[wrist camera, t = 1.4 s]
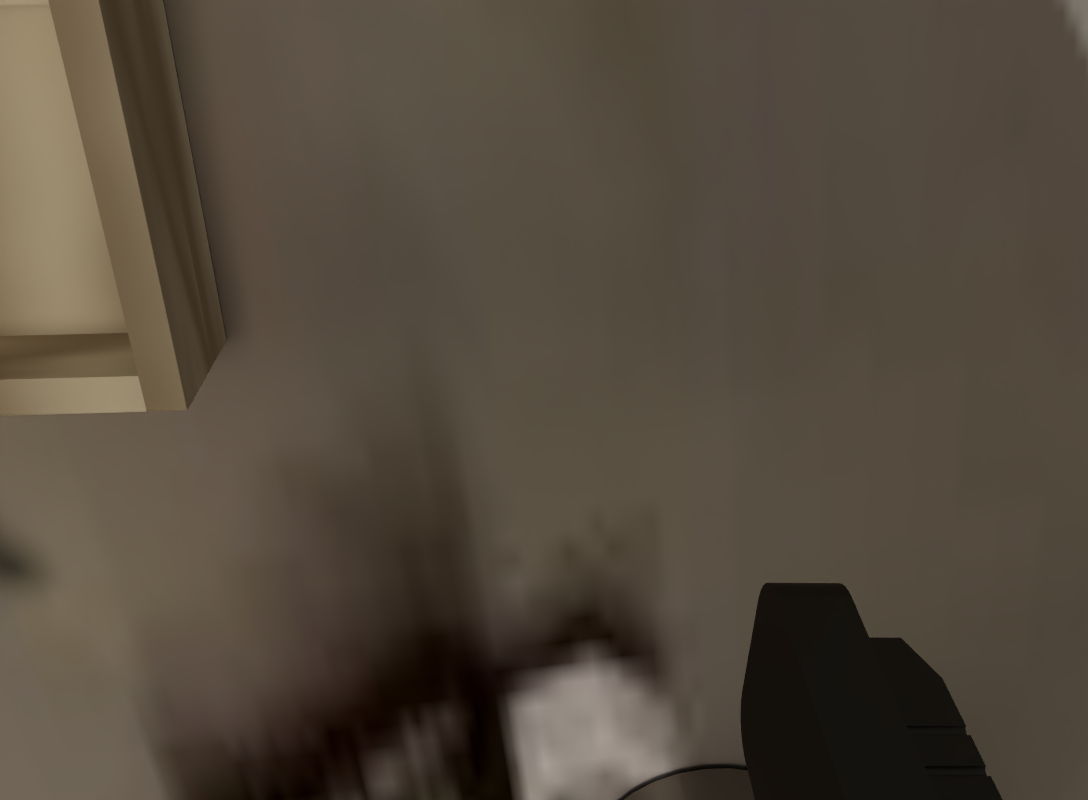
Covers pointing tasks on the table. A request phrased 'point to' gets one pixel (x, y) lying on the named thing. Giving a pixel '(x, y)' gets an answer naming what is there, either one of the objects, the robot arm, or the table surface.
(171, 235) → the open box
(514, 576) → the table surface
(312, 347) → the table surface
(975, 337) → the table surface
